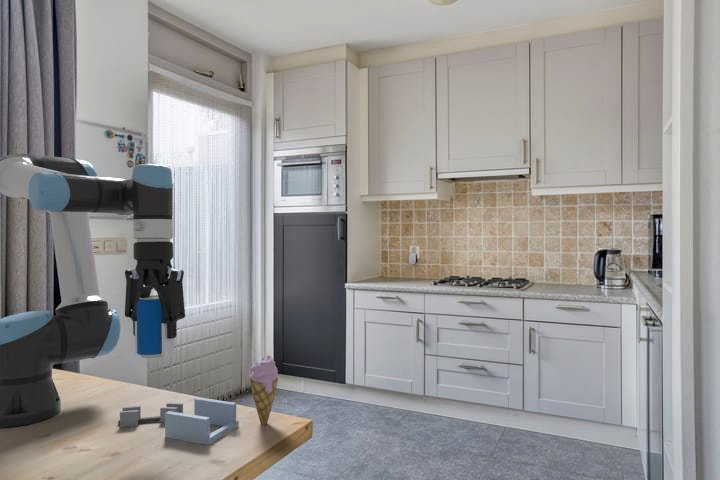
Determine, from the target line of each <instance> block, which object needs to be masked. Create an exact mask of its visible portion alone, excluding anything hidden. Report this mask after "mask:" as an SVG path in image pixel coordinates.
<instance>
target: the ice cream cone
mask: <svg viewBox="0 0 720 480" xmlns="http://www.w3.org/2000/svg"><path fill="white" fill-rule="evenodd" d="M273 360H274V358H273V357H272V356H271V355H269V354H268V355H267V356H266V357H261V361H256V362H254V364H252V365H251V367H250V368H249V370H250V371H251V372H253V373H252V374H250V375H249V377H248V378H249V382H250V388H251V393H252V396H253V401H254V405H255V409H256V411H257V415H258V419H259V422H260V425H262V426H265V425H268V422H269V418H270V415H271V411H272V409H273V404H274V400H275V396H276V392H277V386H278V381H279V377H278V374H279V369H278V368H277V366H276V361H273Z"/></svg>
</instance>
